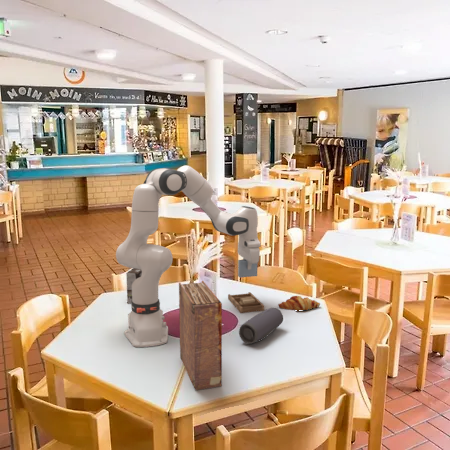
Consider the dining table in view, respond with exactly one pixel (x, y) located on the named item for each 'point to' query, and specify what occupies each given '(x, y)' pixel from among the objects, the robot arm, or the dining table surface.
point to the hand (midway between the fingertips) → (247, 268)
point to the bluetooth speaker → (260, 325)
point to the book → (201, 335)
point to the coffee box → (131, 277)
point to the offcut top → (247, 300)
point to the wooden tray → (246, 307)
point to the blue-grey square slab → (244, 271)
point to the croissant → (299, 303)
